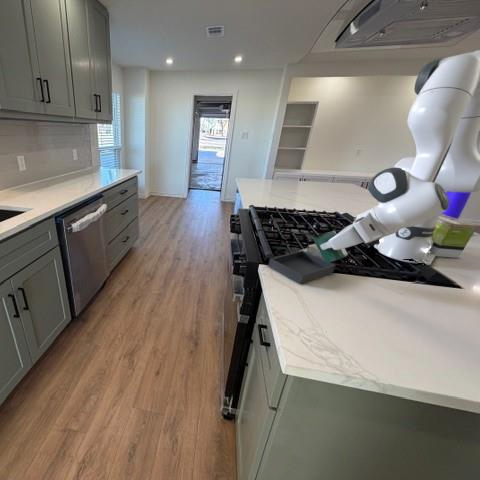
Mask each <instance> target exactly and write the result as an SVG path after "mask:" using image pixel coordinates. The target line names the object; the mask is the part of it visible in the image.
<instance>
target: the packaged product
mask: <svg viewBox="0 0 480 480" xmlns="http://www.w3.org/2000/svg"><path fill="white" fill-rule="evenodd" d="M301 250H303V251H305V252H307V253H309V254H312V255H314V256H316V257H319V258H321V259H323V257H322V255H321V253H320V252H319V250H318V248H317V246H316V244H315V243H313V244H309V245H308V246H307V247H306V248H303V249H299V251H301ZM346 252H347V251H346ZM347 254H349V252H347ZM323 260H324V259H323Z"/></svg>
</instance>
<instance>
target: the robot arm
mask: <svg viewBox="0 0 480 480" xmlns="http://www.w3.org/2000/svg"><path fill="white" fill-rule="evenodd" d="M413 90H414V93H415V94H416V98H415V99H414V101H413V103H412V104H411V107H410V110H409V112H408V116H407V120H406V121H407V127H408V129H409V132H410V133H411V135H412V138H413V141H414V144H415V150H416V154H415V156H408V157H407V156H405V157H403V158H401V159H400V160H398V161H397V162H396V163H395V164H394V165H393V166H392V167H389V168H385V169H383V170H381V171H379V172H377V173H376V174H375V175H374V176H372V178H371V179H370V181H369V183H368V184H367V185H368V186H367V189H368V192H369V193H370V195H371V196H372V198H374V199H375V200H376V201H377V203H378V204H377V205H375V206H374V207H372V208H369V209H368V210H364V211H363V212H360V213H359V214H356V219H355V220H354V221H352V222H353V223H351V224H349V225H347V226H345V227H344V228H343V229H341V230H340V231H338V233H336V235H335V236H334V237H332V238H331V239H330V240H329V241H328V242H326V243H323V244H321V245H320V247H321V248H322V250H325V249H327V248H333V249H334V250H340V249H344V248H345V249H347V248H350V247H353V246H356V245H359V244H362V243H365V244H369V243H372V242H374V241H377V240H379V243H375V244H374V245H373V247H374V248H375V249H376V250H377V251H378V253H380V254H382V255H383V256H386V257H388V258H390V259H392V260H393V259H394V260H396V261H400V262H404V263H410V264H418V263H417V262H415V261H409V260H403V259H411V258H414V259H418V260H421V261H423V262H424V263H425V264H426V265H425V266H431V265H432V263H433V261H434V260H435V258H436V257H437V256H436V255H435V254H433V253H431V252H430V249H431V247H432V245H433V240H432V238H431V236H432V235H433V233H434V230H435V228H436V226H435V224H436V222H437V220H438V218H439V216H440V214H442V213H443V212H445V211H446V210H447V209H448V207H449V199H448V196H447V194H446V192H447V191H450V192H471V193H476V192H478V191H480V152H479V149H478V145H477V143H478V142H477V141H478V138H479V137H478V136H479V134H480V49H479V50H475V51H472V52H471V51H470V52H465V53H461V54H457V55H451V56H448V57H443V56H442V57H439V58H436V59H433V60H430V61H429V62H428V63H426V64H425V65H424V66H423V67H422V68H421V69H420V70H419V72H418V74H417V76H416V79H415V81H414V89H413Z"/></svg>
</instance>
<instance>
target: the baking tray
mask: <svg viewBox="0 0 480 480" xmlns="http://www.w3.org/2000/svg"><path fill="white" fill-rule="evenodd" d="M300 250H301V251H300ZM300 250H298V251H294V252H290V253H286V254H283V255H280V256H275V257H272V258H269V261H268V267H269V268H271V269H273V270H275V271H276V272H278V273H280V274H281V275H284V276H285V277H287V278H289V279H291V280H293V281H294V282H296V283H298V284H300V285H302V284H304V283H307V282H310V281H313V280H315V279H319V278H321V277H324V276H326V275H330V274H333V273H334V272H335V269H336V264H334V263H332V262H325V261H324V260H323V259H321V258H319V257H316V256H314V255H312V254H309V253H307V252H305V251H303V250H302V249H300ZM286 259H287V260H286ZM283 260H284V261H283Z"/></svg>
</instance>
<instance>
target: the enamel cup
mask: <svg viewBox="0 0 480 480" xmlns="http://www.w3.org/2000/svg"><path fill="white" fill-rule="evenodd" d="M336 234H337V232H336V230H332V231H329V232H326V233H324V234H321V235H319V236H316V237H315V238H313V239H312V240H313V242H314V244H316V246H317V248H318V250H319V252H320V253H321V255H322V257H323V259H324V261H325V262H330V263H332V262H335V261H338V260H342V259H344V258H345V257H348V254H349V253H348V254H347V250H346V248H344V249H340V250H334V249H333V248H327V249H325V250H322V248H321V247H320V245H321V244H323V243H326V242H328V241H329V240H330V239H331V238H332V237H334V236H335V235H336Z"/></svg>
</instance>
